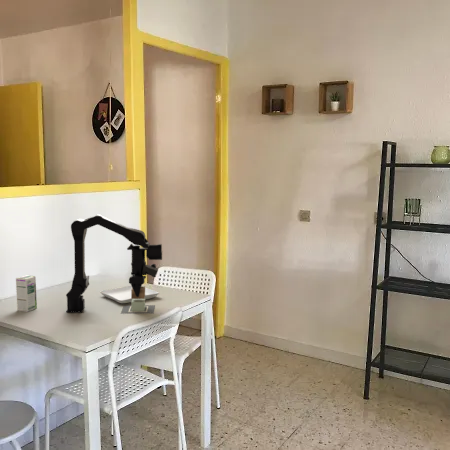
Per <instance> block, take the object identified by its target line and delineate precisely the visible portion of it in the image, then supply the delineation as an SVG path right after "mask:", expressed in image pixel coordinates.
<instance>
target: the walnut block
mask: <svg viewBox="0 0 450 450" xmlns="http://www.w3.org/2000/svg"><path fill="white" fill-rule="evenodd" d="M145 288H146V286H142V287H141V289H140V294H139V297H136V295H135V292H134V290H133V288H132V290H131V299H144V298H145Z"/></svg>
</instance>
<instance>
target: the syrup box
mask: <svg viewBox="0 0 450 450" xmlns="http://www.w3.org/2000/svg"><path fill="white" fill-rule="evenodd" d="M36 281H37V279H36V276H35V275H30V274H27V275H23V276H19V277H16V278H15V289H16V291H15V292H16V308H17V309H16V310H17V311H20V312H25V313H29V312H31V311H33V310H36V309H38V305H37V304H38V303H37V286H36V285H37V284H36V283H37V282H36Z"/></svg>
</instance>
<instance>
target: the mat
mask: <svg viewBox="0 0 450 450" xmlns="http://www.w3.org/2000/svg"><path fill="white" fill-rule="evenodd" d="M155 309H156V305H155V304H152V305H151V304H150V305H147V304H145V310H144V311H131V305H130V304H129V305H128V304H125V305H123V306H122V309H121V311H120V314H123V315H125V314H127V315H128V314H130V315H131V314H134V315H137V314H138V315H139V314H141V315H142V314H145V315H147V314H154V313H155Z"/></svg>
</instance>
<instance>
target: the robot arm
mask: <svg viewBox="0 0 450 450" xmlns="http://www.w3.org/2000/svg"><path fill="white" fill-rule="evenodd" d="M96 225H97V226H101V227H103V228H105V229H107V230H108V231H112V232H113V233H115V234H117V235H120V236H122V237H123V238H125V240H127V241H129V242H130V244H129V246H127V248H126V249H127V251H131V263H130V265H131V272H130V276H129V278H128V284H130V286H132V288H133V290H134V292H135V295H136V297H139V294H140V289H141V286H142V285H144V284H145V279H147V276H151V277H153V278H156V277H157V275H158V272H159V268H158V267H157V265H156V264H155V263H151V265H150V264H147V261H146V258H147V259H148V260H149V261H162V260H163V248H162V243H158V244H151V243H150V242H149V241H148V240H147V238H146V233H145V232H144V231H143V230H140V229H137V228H132V227H128V226H125V225H123V224H121V223H118V222H117V221H114V220H111V219H110V218H108V217H106V216H104V215H102V214H100V213H99V214H96V215H94V216H90V217H88V218H84V219H83V218H78V219H76V220H73V222H72V223H71V224H70V231H71V235H72V239H73V241H74V246H73V247H74V275H73V277H72V281H71V282H72V283H71V288H70V290H69V291H68V292H67V293H66V294H65V296H66V301H67V302H66V305H67V306H66V309H67V310H65V311H66V313H82V312H83V311H84V310H85V308H86V307H85V304H86V303H85V302H86V301H85V298H84V295H83V294H84V293H85V292H86V290H87V289H88V287H89V285H90V281H89V279H90V275H86V268H85V266H86V265H85V263H86V261H85V250H86V249H85V240H86V235H87V231H88V229H89V228H93V227H94V226H96ZM142 287H143V286H142Z"/></svg>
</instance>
